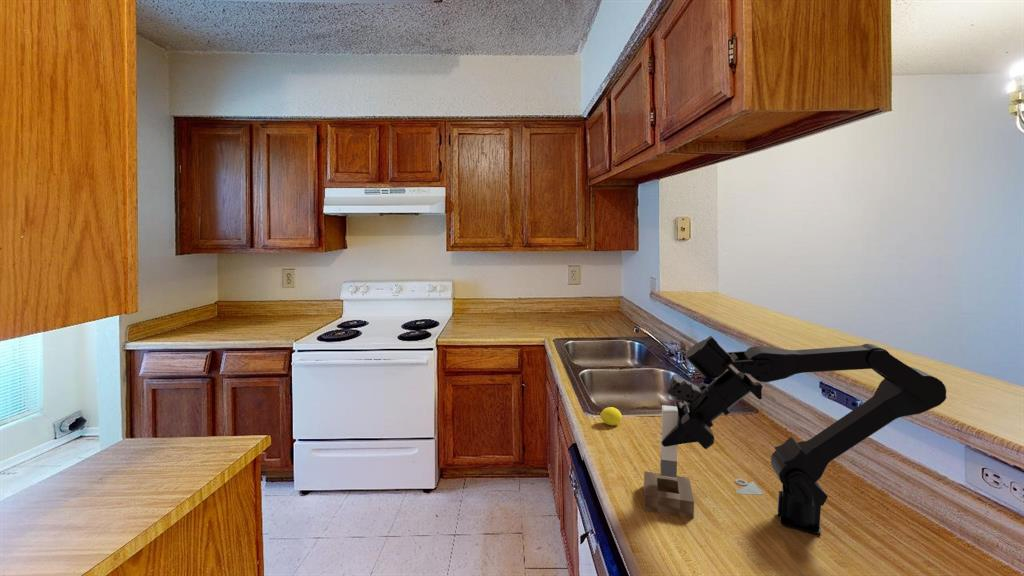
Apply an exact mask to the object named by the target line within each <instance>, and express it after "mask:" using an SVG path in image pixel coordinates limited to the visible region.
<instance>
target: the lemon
mask: <svg viewBox="0 0 1024 576" xmlns="http://www.w3.org/2000/svg"><path fill="white" fill-rule="evenodd" d="M599 417H600V418H601V420H602V422H603V423H605V425H608V426H612V427H613V426H616V425H618V424H620V423H621V421H622V420H623V416H622V413H621V411H620V410H619V409H618V408H616V407H611V406H609V407H606V408H603V410H602V411H601V412H600V414H599Z"/></svg>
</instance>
